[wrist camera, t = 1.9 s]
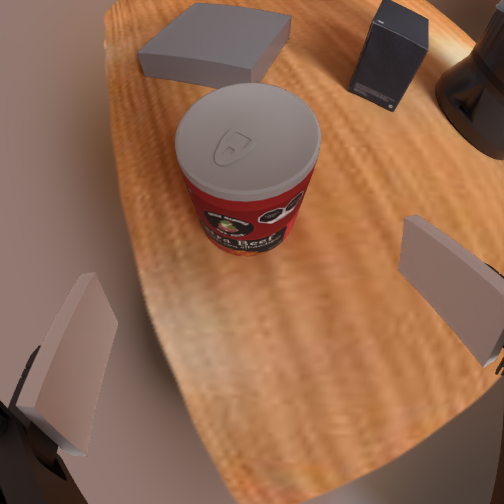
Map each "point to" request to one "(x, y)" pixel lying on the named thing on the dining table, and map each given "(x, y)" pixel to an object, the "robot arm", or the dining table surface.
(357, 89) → the small box
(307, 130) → the canned food
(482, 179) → the dining table surface
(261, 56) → the slate stand
